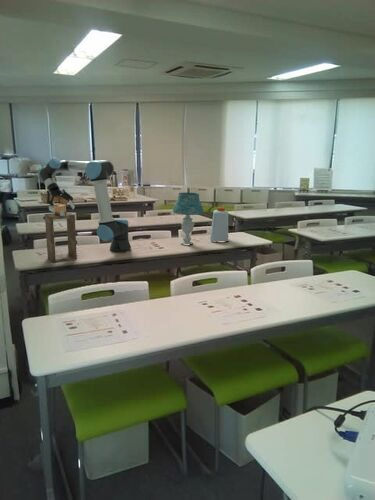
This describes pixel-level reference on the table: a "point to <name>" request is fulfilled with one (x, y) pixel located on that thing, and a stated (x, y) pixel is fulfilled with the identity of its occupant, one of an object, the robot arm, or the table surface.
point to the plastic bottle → (219, 225)
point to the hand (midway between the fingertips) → (65, 209)
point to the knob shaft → (58, 210)
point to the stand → (70, 233)
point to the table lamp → (188, 212)
